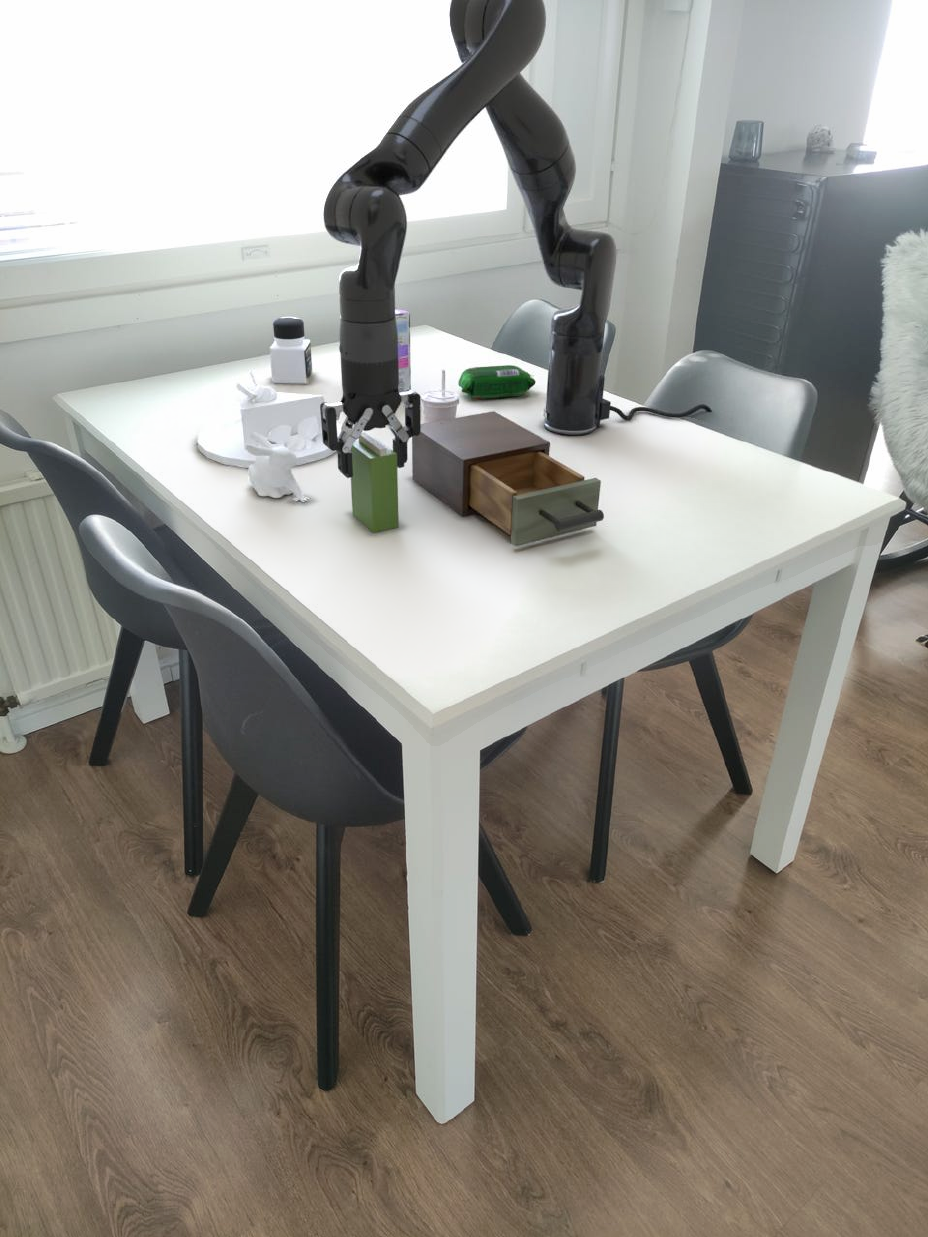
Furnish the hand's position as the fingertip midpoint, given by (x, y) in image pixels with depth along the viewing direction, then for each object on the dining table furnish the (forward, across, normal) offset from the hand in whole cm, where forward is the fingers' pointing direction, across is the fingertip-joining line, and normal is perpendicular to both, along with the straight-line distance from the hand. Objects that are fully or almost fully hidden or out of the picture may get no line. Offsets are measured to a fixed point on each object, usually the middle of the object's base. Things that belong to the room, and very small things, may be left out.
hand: (373, 470), depth 127 cm
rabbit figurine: (+8, -10, +16) cm, 20 cm away
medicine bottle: (+8, +14, +69) cm, 71 cm away
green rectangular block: (+8, 0, 0) cm, 8 cm away
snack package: (+8, +46, +41) cm, 62 cm away
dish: (+8, -2, +37) cm, 38 cm away
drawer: (+7, +19, -13) cm, 24 cm away
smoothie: (+8, +21, +19) cm, 29 cm away
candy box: (+8, +26, +53) cm, 60 cm away
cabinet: (+8, +19, +3) cm, 21 cm away
